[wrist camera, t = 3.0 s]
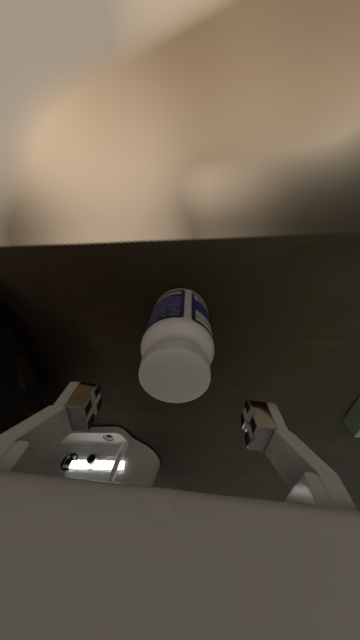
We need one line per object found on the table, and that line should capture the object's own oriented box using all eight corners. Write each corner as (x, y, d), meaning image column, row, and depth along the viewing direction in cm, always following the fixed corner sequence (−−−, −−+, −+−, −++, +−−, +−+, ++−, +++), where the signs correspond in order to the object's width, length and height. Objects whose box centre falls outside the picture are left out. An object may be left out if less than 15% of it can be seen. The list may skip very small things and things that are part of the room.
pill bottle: (151, 329, 23) (126, 401, 14) (158, 281, 20) (132, 332, 11) (200, 339, 23) (206, 415, 14) (214, 292, 20) (231, 351, 11)
